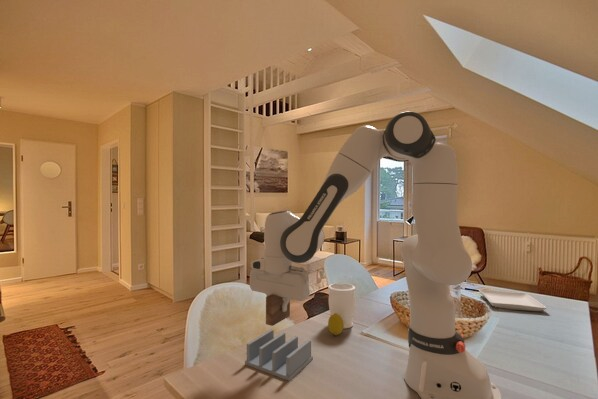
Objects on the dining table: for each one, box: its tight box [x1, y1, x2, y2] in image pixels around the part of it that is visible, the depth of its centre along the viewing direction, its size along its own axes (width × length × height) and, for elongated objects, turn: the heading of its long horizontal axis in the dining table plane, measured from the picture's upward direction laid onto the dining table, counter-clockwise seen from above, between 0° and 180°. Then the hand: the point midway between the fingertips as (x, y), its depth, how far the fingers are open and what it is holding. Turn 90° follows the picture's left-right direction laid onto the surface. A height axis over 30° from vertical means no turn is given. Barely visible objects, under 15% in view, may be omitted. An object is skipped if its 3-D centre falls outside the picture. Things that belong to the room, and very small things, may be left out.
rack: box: [244, 328, 314, 382], centre depth 91 cm, size 16×13×6 cm
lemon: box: [327, 313, 344, 336], centre depth 109 cm, size 6×6×8 cm
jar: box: [328, 282, 357, 330], centre depth 118 cm, size 11×10×15 cm
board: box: [265, 294, 291, 327], centre depth 91 cm, size 2×9×8 cm, turn 148°
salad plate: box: [478, 289, 547, 312], centre depth 140 cm, size 21×21×3 cm
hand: (278, 309), depth 91 cm, fingers closed on board, 2 cm apart
